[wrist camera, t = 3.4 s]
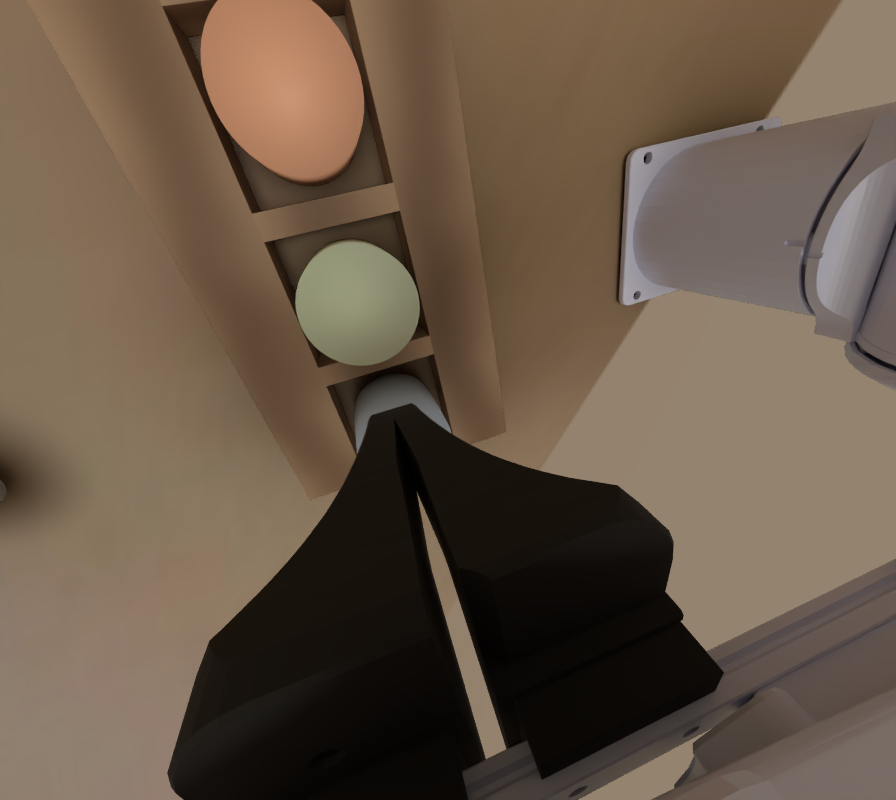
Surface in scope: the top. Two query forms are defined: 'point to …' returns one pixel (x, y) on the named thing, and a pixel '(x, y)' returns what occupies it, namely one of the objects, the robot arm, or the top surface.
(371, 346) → the sage button
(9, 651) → the top surface
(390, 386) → the grey rounded piece
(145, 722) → the top surface
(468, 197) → the wooden compartment tray
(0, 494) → the light bulb
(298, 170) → the orange rounded lump
